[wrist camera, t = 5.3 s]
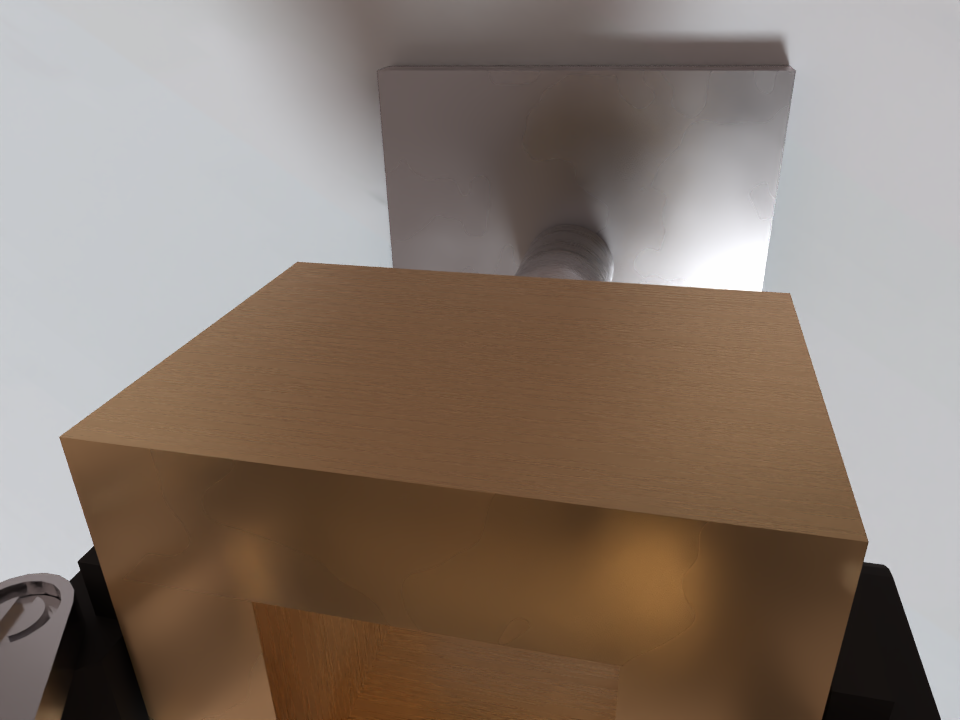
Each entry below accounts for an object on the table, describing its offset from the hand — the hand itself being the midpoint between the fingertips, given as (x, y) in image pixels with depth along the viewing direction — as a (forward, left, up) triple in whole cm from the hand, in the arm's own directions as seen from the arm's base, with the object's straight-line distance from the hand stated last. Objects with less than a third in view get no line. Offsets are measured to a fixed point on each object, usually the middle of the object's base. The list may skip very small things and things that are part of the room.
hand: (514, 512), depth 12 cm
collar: (0, 0, -1) cm, 1 cm away
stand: (0, 0, -11) cm, 11 cm away
